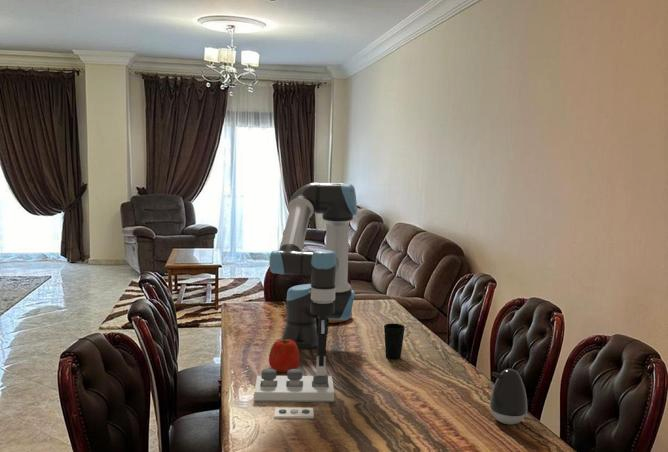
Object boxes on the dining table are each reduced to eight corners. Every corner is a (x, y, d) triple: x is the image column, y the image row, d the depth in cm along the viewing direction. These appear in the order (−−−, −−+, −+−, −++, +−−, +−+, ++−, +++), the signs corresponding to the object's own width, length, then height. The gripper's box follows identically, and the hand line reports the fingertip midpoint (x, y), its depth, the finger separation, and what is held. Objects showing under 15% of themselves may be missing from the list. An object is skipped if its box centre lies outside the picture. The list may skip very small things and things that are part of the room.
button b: (287, 383, 188) (287, 368, 188) (301, 383, 189) (302, 368, 188) (287, 389, 184) (287, 373, 183) (302, 389, 184) (302, 374, 184)
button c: (261, 383, 188) (261, 368, 187) (276, 383, 188) (276, 368, 188) (260, 388, 183) (261, 373, 183) (275, 388, 184) (276, 373, 183)
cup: (402, 361, 219) (403, 329, 218) (381, 359, 221) (383, 328, 220) (404, 355, 227) (405, 324, 226) (384, 353, 228) (385, 322, 227)
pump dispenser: (483, 413, 175) (486, 363, 174) (517, 413, 176) (521, 363, 175) (495, 428, 165) (498, 375, 164) (532, 428, 166) (535, 375, 165)
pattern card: (275, 409, 174) (275, 406, 174) (313, 409, 174) (313, 406, 174) (274, 418, 168) (274, 415, 168) (313, 418, 168) (313, 415, 168)
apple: (286, 361, 216) (287, 333, 215) (306, 369, 208) (307, 339, 207) (262, 368, 208) (263, 338, 207) (282, 376, 200) (283, 346, 199)
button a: (312, 387, 189) (313, 372, 189) (327, 387, 189) (327, 373, 189) (313, 393, 185) (313, 378, 184) (328, 393, 185) (328, 378, 184)
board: (257, 384, 193) (257, 375, 192) (331, 385, 194) (331, 376, 194) (254, 401, 179) (254, 392, 179) (334, 402, 180) (334, 392, 180)
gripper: (310, 295, 190) (308, 367, 193) (311, 305, 177) (309, 382, 180) (333, 296, 191) (331, 367, 193) (336, 305, 178) (333, 382, 180)
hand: (320, 374), depth 186 cm, fingers closed
